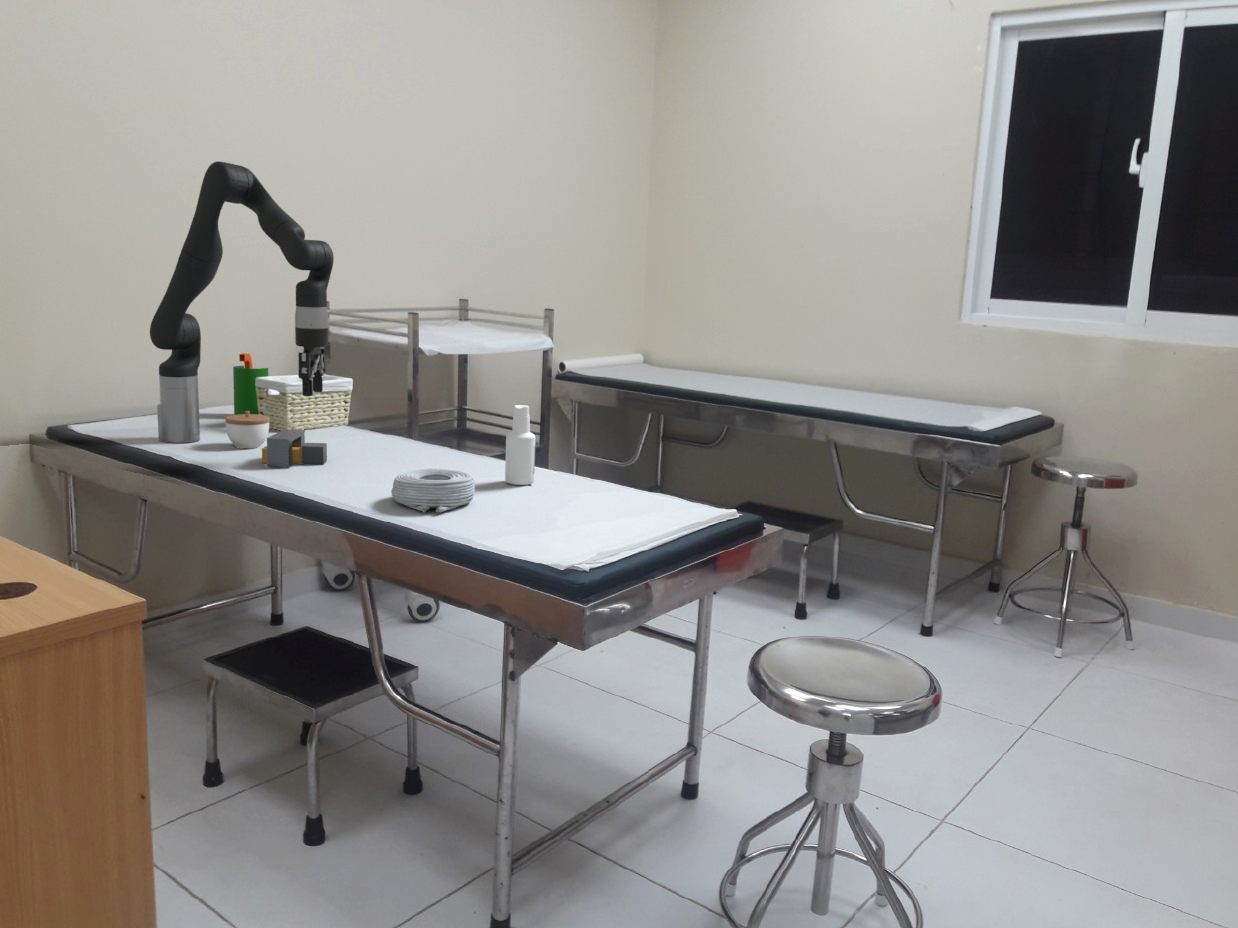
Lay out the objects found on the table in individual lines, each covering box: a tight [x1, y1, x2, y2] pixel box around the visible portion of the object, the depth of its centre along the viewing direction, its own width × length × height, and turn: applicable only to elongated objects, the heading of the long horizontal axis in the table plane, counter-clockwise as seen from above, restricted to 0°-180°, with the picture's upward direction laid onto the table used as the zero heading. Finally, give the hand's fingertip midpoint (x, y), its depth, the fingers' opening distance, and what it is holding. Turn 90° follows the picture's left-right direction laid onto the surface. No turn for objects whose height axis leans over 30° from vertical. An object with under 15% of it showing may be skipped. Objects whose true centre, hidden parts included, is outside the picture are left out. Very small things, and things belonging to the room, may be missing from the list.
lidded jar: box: [224, 411, 270, 449], centre depth 256 cm, size 11×11×9 cm
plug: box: [261, 442, 328, 466], centre depth 241 cm, size 14×5×4 cm, turn 97°
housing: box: [266, 429, 306, 469], centre depth 239 cm, size 5×13×7 cm, turn 1°
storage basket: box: [255, 373, 354, 431], centre depth 289 cm, size 24×16×15 cm
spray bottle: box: [504, 404, 536, 486], centre depth 229 cm, size 7×7×18 cm
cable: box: [390, 468, 476, 513], centre depth 209 cm, size 18×18×6 cm
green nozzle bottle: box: [232, 352, 269, 415], centre depth 298 cm, size 10×9×20 cm
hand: (312, 393), depth 237 cm, fingers open, 8 cm apart
